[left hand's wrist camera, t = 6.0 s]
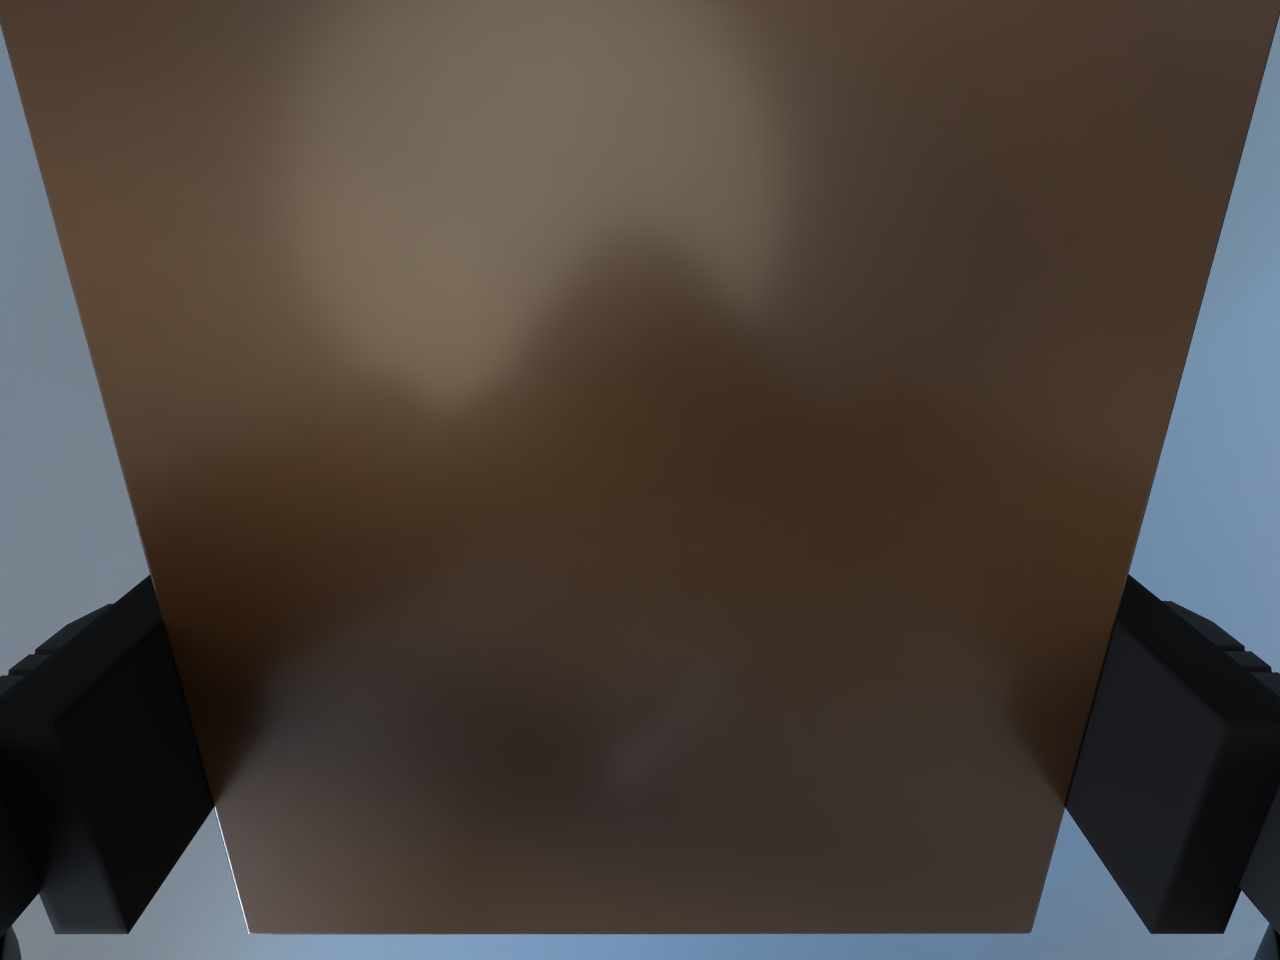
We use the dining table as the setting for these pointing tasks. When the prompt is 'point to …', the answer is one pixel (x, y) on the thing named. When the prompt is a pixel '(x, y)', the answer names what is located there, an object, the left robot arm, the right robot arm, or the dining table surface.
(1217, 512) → the dining table surface
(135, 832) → the left robot arm
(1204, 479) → the dining table surface
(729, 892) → the wooden drawer box
